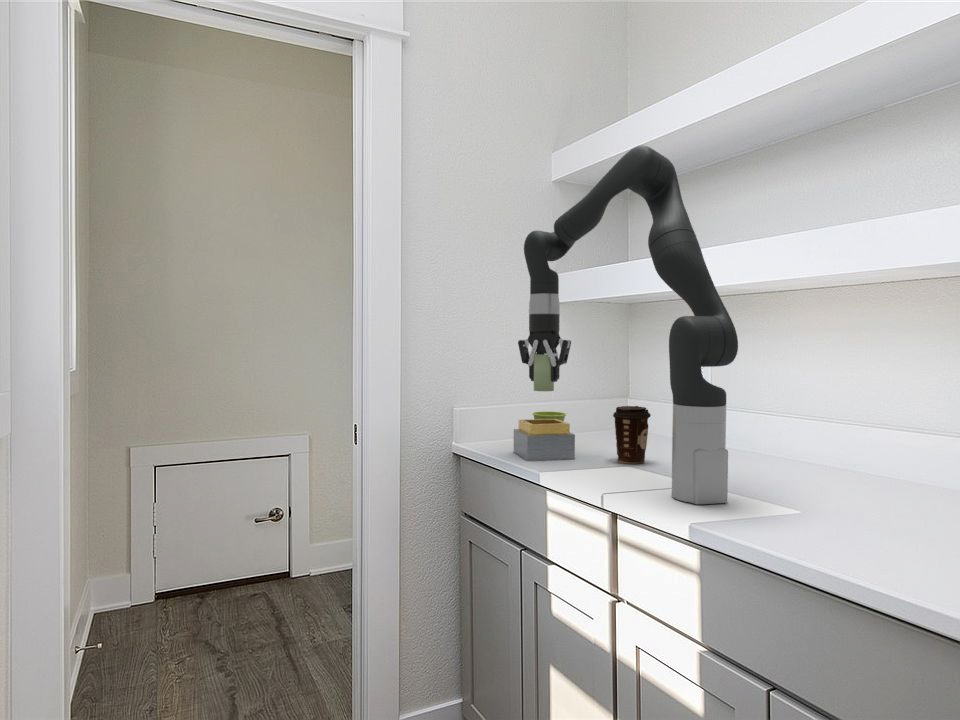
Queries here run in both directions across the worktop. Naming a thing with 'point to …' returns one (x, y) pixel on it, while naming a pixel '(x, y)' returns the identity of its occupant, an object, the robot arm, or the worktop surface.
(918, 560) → the worktop surface
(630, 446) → the coffee cup
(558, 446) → the open square metal box
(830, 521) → the worktop surface
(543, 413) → the plant pot
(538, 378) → the spout can
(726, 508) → the worktop surface
